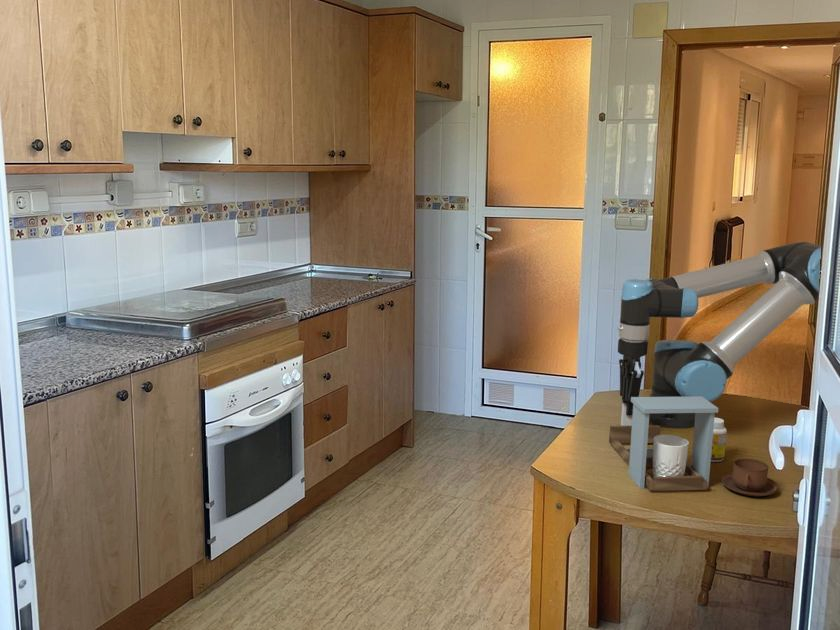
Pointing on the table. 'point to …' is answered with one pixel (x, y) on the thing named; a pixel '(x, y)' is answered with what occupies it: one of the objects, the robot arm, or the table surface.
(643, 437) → the tunnel
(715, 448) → the supplement bottle
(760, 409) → the table surface
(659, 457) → the white cup
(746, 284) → the robot arm
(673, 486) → the wooden serving tray
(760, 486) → the cup and saucer
